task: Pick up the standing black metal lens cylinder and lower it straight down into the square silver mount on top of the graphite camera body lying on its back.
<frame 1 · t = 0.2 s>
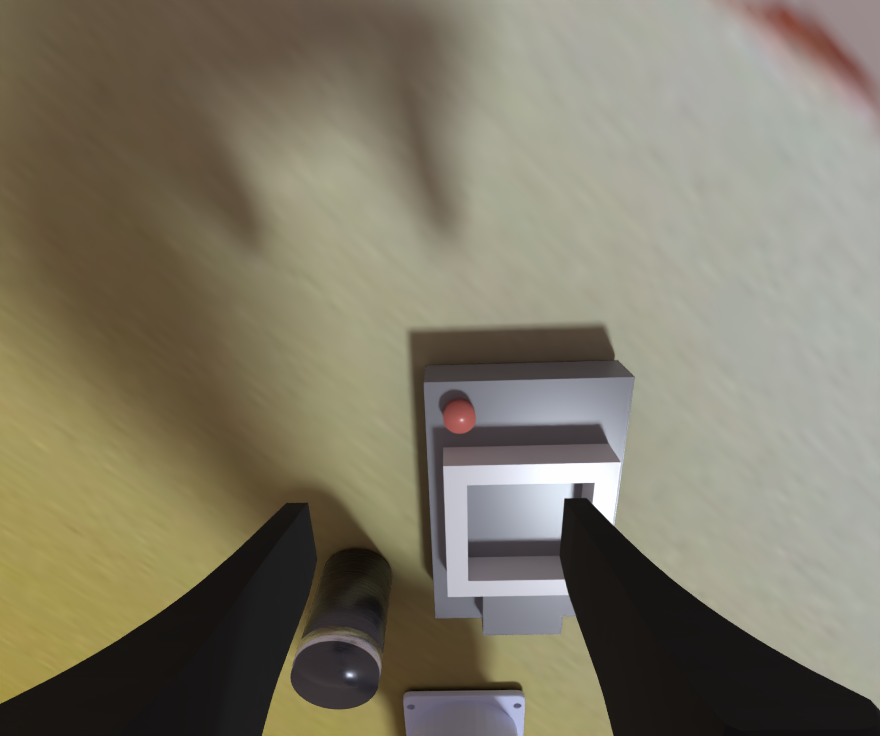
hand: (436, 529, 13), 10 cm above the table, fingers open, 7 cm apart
lens: (357, 576, 26), on the table
camera body: (516, 487, 24), on the table
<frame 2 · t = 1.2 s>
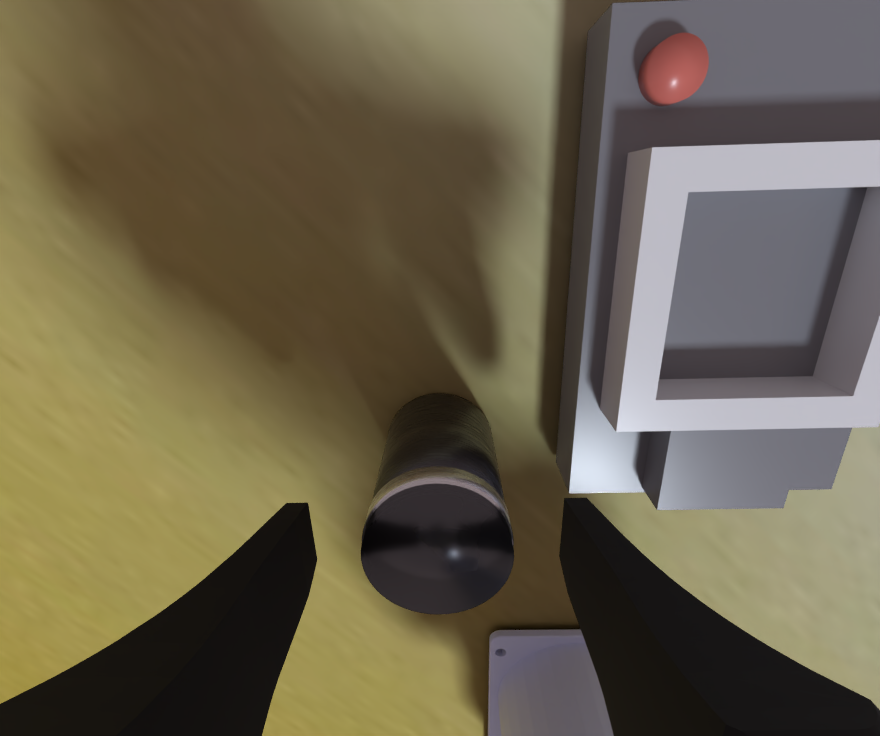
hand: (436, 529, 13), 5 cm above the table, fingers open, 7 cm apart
lens: (440, 440, 17), on the table
camera body: (705, 278, 15), on the table
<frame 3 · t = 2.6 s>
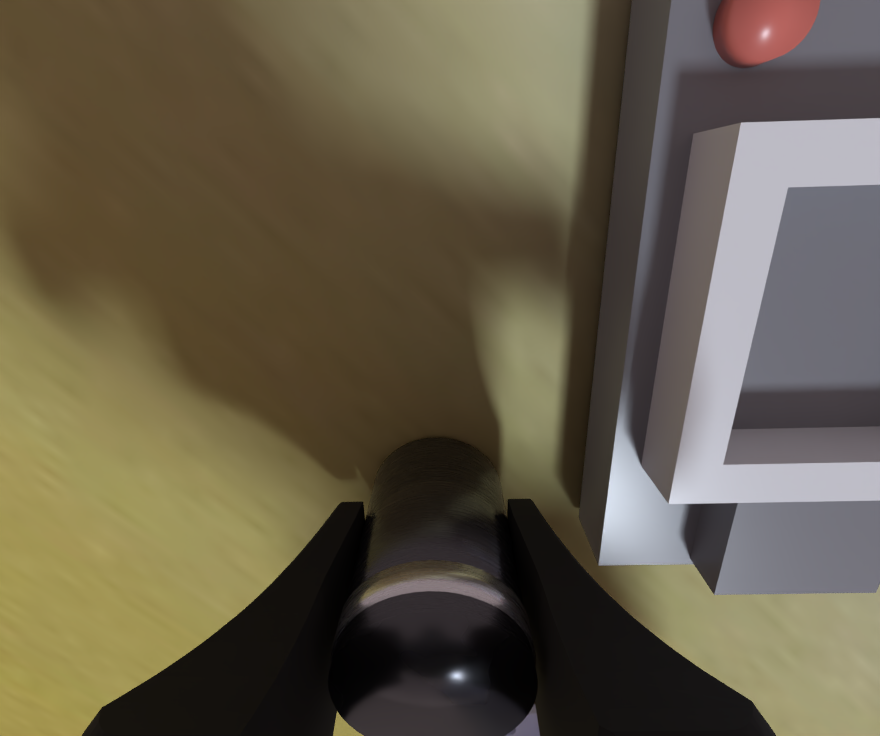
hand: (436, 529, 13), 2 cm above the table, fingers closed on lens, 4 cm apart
lens: (437, 493, 14), on the table, touching gripper
camera body: (773, 298, 12), on the table
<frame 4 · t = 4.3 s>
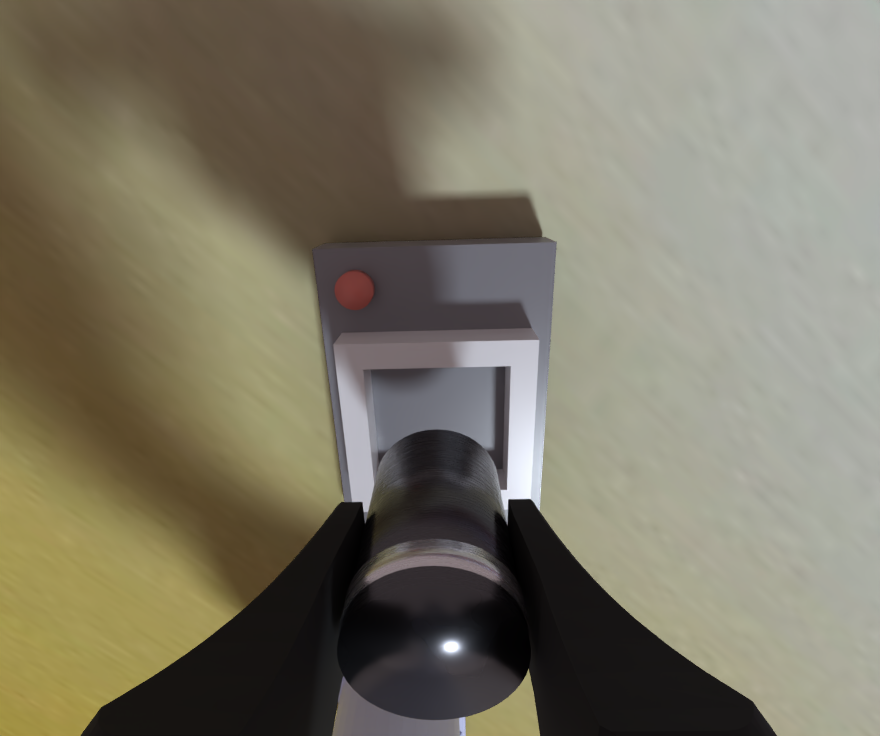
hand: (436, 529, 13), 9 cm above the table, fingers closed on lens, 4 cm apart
lens: (437, 482, 15), point 7 cm above the table, touching gripper
camera body: (439, 395, 21), on the table
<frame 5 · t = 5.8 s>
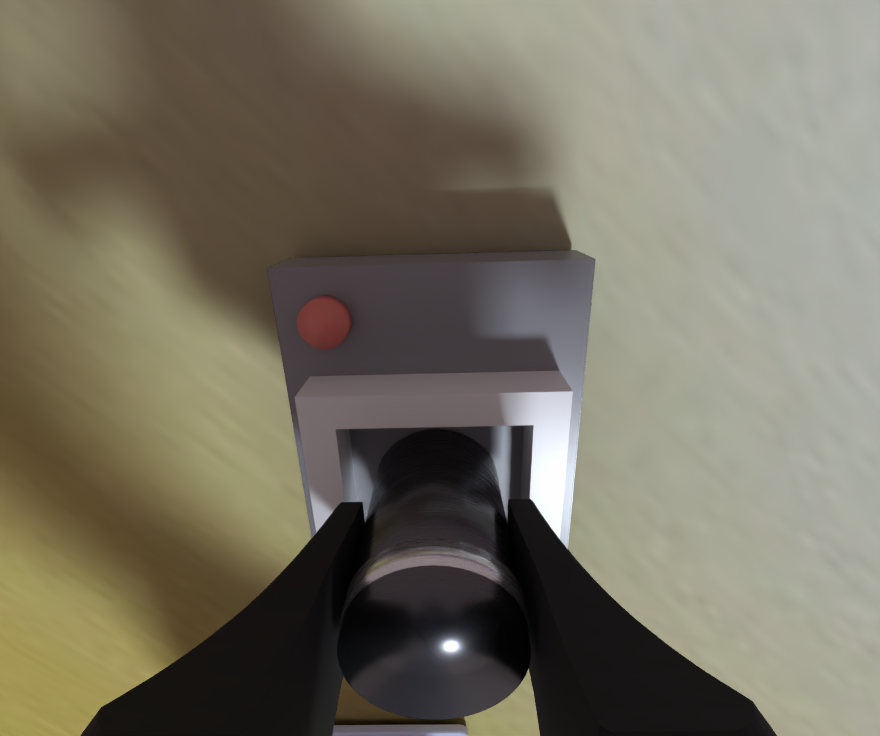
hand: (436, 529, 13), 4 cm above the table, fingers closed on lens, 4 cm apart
lens: (437, 482, 15), point 2 cm above the table, touching gripper
camera body: (438, 446, 17), on the table
when the fingers open (4 cm above the table, at t = 6.4 s): lens stays where it is, resting on camera body.
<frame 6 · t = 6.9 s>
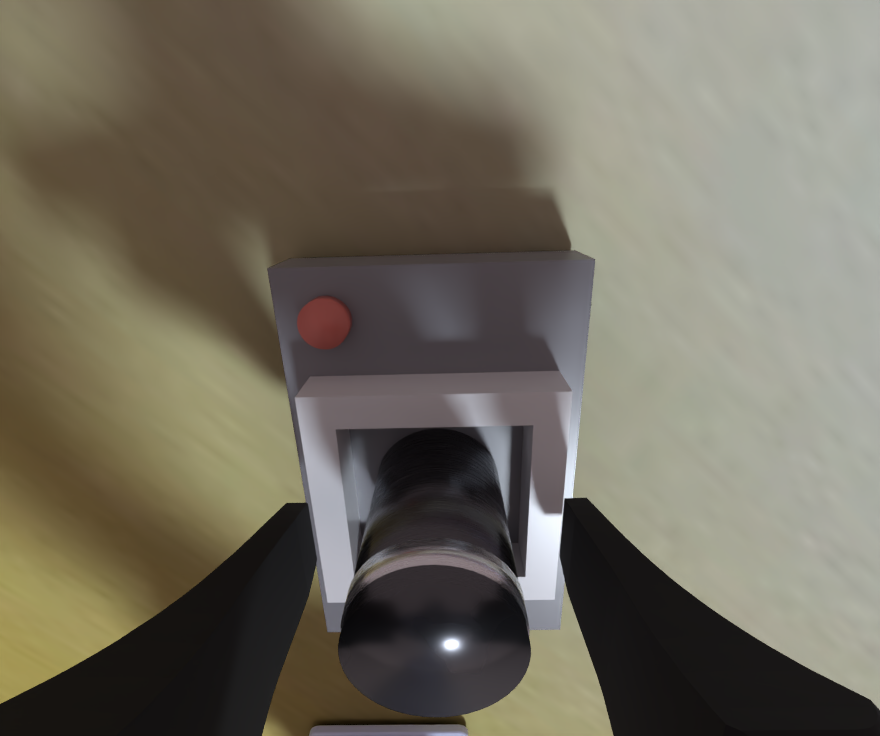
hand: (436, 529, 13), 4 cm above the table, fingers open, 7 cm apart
lens: (438, 481, 15), point 2 cm above the table, touching camera body
camera body: (438, 446, 17), on the table
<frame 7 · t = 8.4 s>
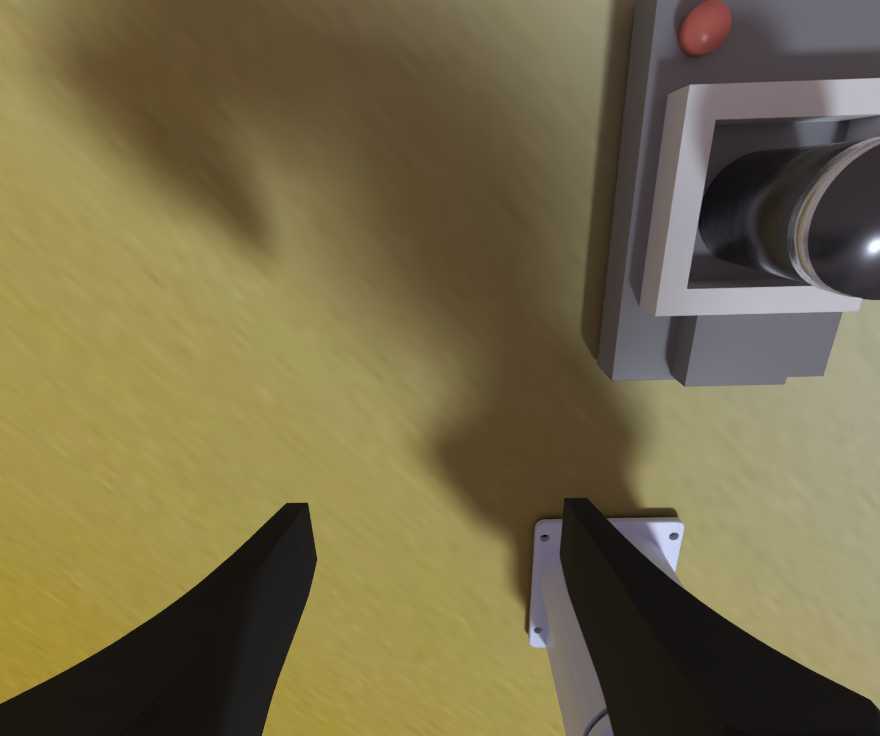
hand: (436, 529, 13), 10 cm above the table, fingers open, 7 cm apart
lens: (753, 209, 17), point 2 cm above the table, touching camera body
camera body: (722, 204, 19), on the table
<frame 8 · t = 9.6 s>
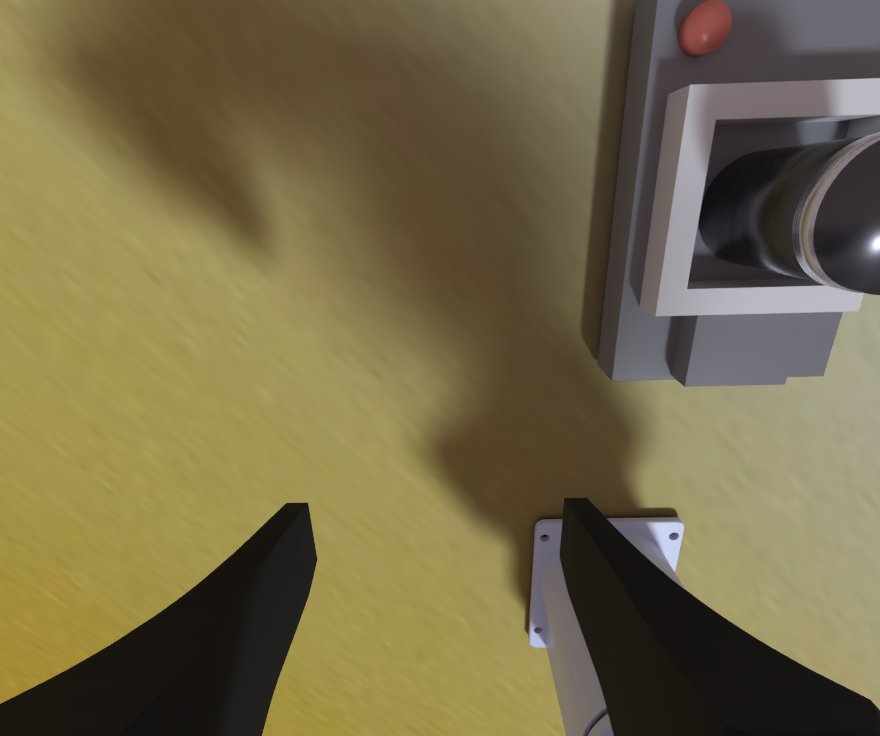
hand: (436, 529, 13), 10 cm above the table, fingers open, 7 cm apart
lens: (753, 209, 17), point 2 cm above the table, touching camera body
camera body: (722, 204, 19), on the table
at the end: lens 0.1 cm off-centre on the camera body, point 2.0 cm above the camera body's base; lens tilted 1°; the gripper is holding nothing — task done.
